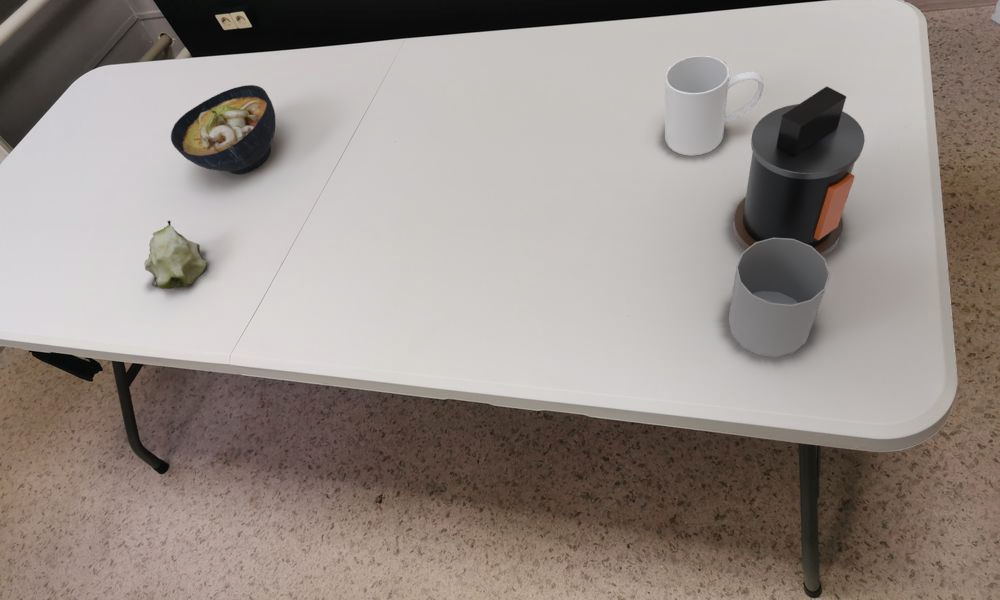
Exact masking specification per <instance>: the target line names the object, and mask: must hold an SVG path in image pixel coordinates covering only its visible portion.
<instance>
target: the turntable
mask: <svg viewBox="0 0 1000 600" xmlns="http://www.w3.org/2000/svg"><path fill="white" fill-rule="evenodd" d="M745 200H746V196H745V197H744V198H743V199H742V200H741V201H740V203H738V205H737V207H736V209H735V212H734V215H733V222H732V223H733V224H732V231H733V235H734V239H735V241H736V242H737V245H739V246H740V248H741V249H742V250H743V252H744V251H745V250H746V249H748V248H749V247H750V246H752V245H753V244H754V243H756V242H757V241H755V240H754V239H753V238H752V237H751V236H750V235H749V234H748V232H747V231H746V229H745V227H744V223H743V213H744V206H745ZM843 228H844V221H843V214H842V215H841V218H840V221H839V224H838V227H837V228H835V229H834V230H832V232H831V233H830V235H829V236H828V237H827V239H826V240H824V241H823V242H822V243H821V244H819V245H817V246H815V247H813V248H814V249H815V250H816V251H817V252H818V253H819V254H820V255H821V256H823V257H824V258H825V257H827V256H829V255H830V254H831V253H832V252H833V250H834V249H836V246H837V245H838V243H839V240H840V237H841V235H842V232H843Z"/></svg>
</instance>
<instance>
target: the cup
mask: <svg viewBox="0 0 1000 600" xmlns="http://www.w3.org/2000/svg"><path fill="white" fill-rule="evenodd" d="M830 276H831V273H830V270H829V266H828V264H827V261H826V258H825V257H823V256H821V255H820V254H819V253H818V252H817V251H816V250H815V249H814V248H813V247H812V246H810V245H807V244H805V243H802V242H800V241H797V240H795V239H787V238H770V239H767V240H763V241H759V242H756V243H754V244H753V245H752V246H750V247H749V248H748V249H746V250H745V251H744V250H743V252H741V255H740V257H739V259H738V262H737V264H736V267H735V274H734V279H733V287H732V293H731V294H732V295H731V300H730V307H729V313H728V319H727V320H728V325H729V330H730V334H731V336H732V337H733V338H734V340H735V341H736V342H737V343H738V344H739V345H740V347H741V348H743V349H746V350H748V351H749V352H751V353H752V354H755V355H757V356H764V357H772V358H778V357H782V356H787V355H790V354H791V355H792V354H795V352H797V351H798V350H799V349H800V348H801V347H802V346H804V345H805V344H806V343H807V341H808V338H809V335H810V332H811V330H812V327H813V324H814V322H815V319H816V316H817V313H818V311H819V309H820V308H819V307H820V305H821V302H822V300H823V297H824V294H825V291H826V288H827V285H828V282H829V279H830Z"/></svg>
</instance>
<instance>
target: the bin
mask: <svg viewBox="0 0 1000 600" xmlns="http://www.w3.org/2000/svg"><path fill="white" fill-rule="evenodd" d="M846 99H847V95H845V94H843V93H841V92H839V91H837V90H835V89H833V88H831V87H829V86H825V87H822V89H820V90H819V91H817V92H816V93H814V94H812V95H811V96H810V97H808V98H806V99H805V100H803V101H802V102H800V103H797V104H789V105H786V106H782V107H780V108H777V109H774V110H772V111H771V112H769V113H767V114H766V115H764V116H763V117H761V118H760V120H759V121H758V122H757V123H756V125H754V128H753V130H752V133H751V140H750V147H751V151H752V153H751V161H750V167H749V173H748V181H747V187H746V194H745V197H746V200H745V206H744V213H743V223H744V227H745V229H746V231H747V232H748V234H749V235H750V236H751V237H752V238H753V239H754V240H755V241H757V242H759V241H763V240H767V239H770V238H787V239H795V240H797V241H800V242H802V243H805V244H807V245H810V246H812V247H815V246H817V245H819V244H821V243H822V242H823V241H824V240H826V239H827V237H828V236H829V235H830V233H831V232H832V230H834V229H835V228H837V227H838V224H839V221H840V218H841V215H842V216H843V212H844V210H845V207H846V203H847V200H848V197H849V194H850V191H851V190H852V186H853V183H854V180H855V177H856V176H855V174H853V173H852V172H853V170H854V169H853V168H854V166H855V163H856V162H857V161H858V159H859V158H860V157H861V155H862V152H863V149H864V146H865V141H866V140H865V133H864V131H863V128H862V126H861V124H860V123H859V122H858V121H857V120H856V119H855V118H854V117H853V116H851V115H850V114H848V113H847V112H845V111H843V110H844V106H845V104H846Z"/></svg>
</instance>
